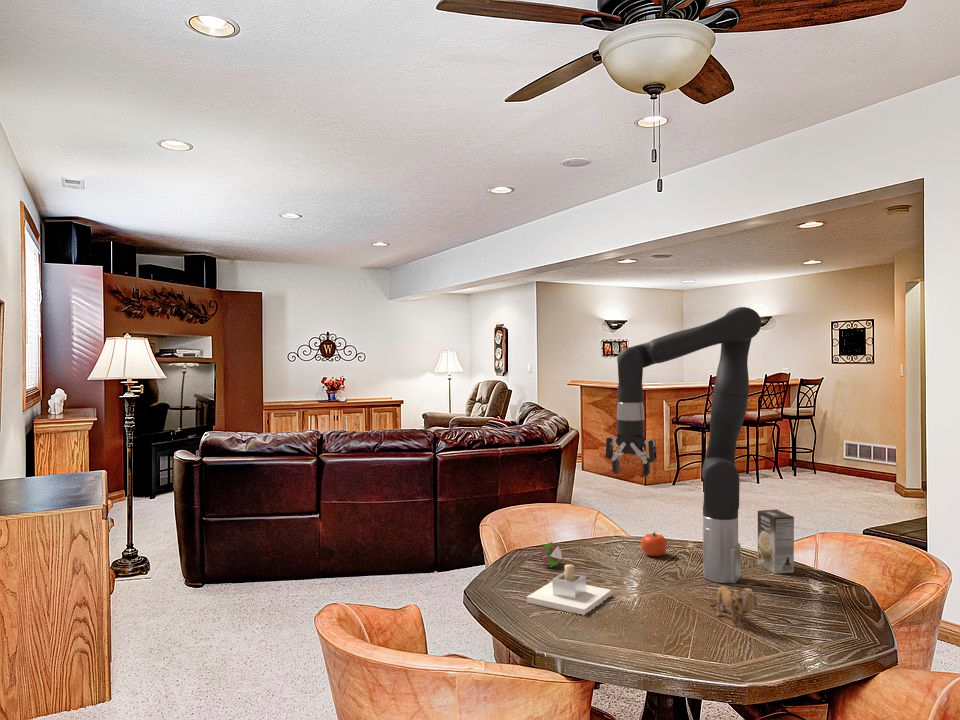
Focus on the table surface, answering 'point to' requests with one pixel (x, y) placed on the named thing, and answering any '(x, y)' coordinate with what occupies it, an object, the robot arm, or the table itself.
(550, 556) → the geometric puzzle
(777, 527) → the coffee box
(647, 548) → the tomato
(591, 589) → the post board
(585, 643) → the table surface
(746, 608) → the lion figurine
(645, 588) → the table surface
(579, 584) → the steel collar
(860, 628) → the table surface
